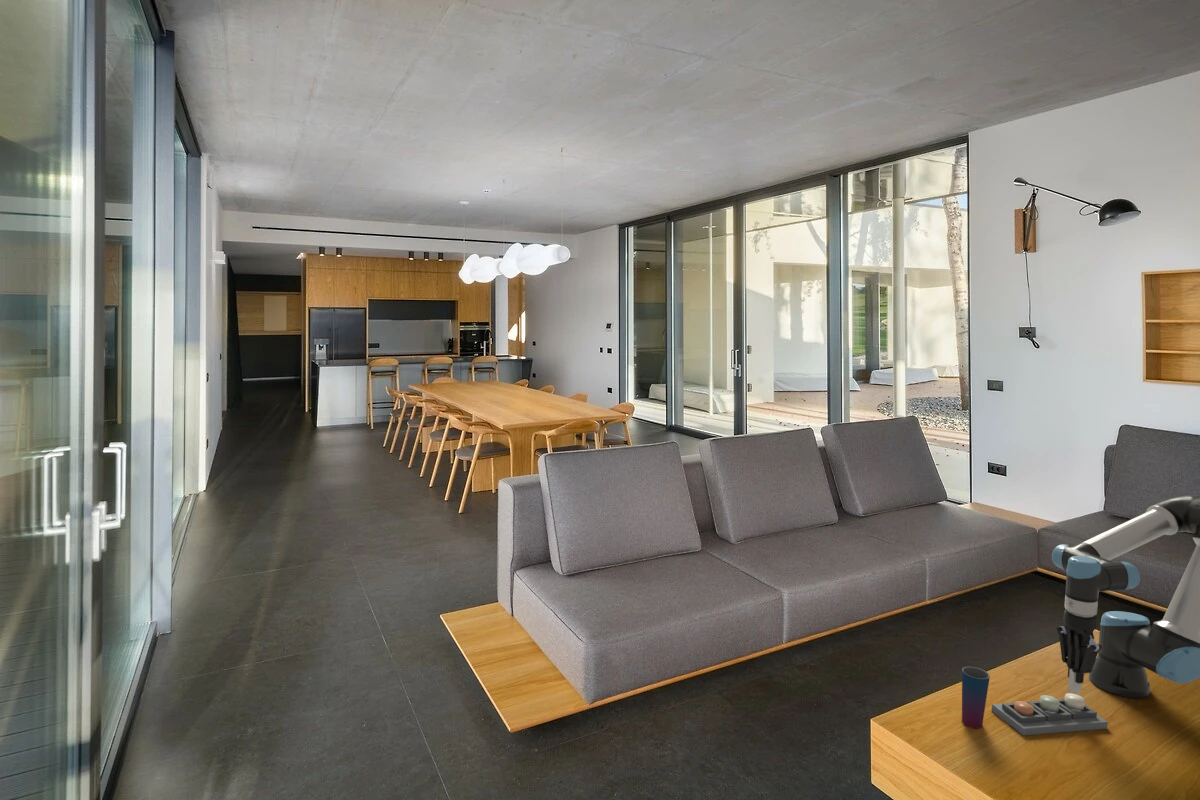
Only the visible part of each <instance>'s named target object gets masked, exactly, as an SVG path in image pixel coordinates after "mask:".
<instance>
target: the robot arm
mask: <svg viewBox="0 0 1200 800" xmlns="http://www.w3.org/2000/svg"><path fill="white" fill-rule="evenodd" d="M1183 532H1184V533H1185V532H1186V533H1191V534H1193V536H1192V540H1193V541H1194V543H1195V545H1196V546H1195V548H1194V551H1193V552H1192V555H1191V556H1190V559H1189V562H1188V564H1187V566H1186V568H1185V570H1184V572H1183V574H1182V577H1181V579H1180V581H1179V583H1178V585H1177V587H1176V589H1175V592H1174V593H1173V596H1172V598H1171V600H1170V603H1169V605H1168V607H1167V609H1166V612H1165V613H1164V616H1163V618H1162V619H1161V620H1157V621H1153V623H1152V625H1151V626H1150V624H1151V622H1150V619H1149V618H1148V617H1147V616H1144V615H1142V614H1137V613H1133V612H1130V611H1129V612H1127V611H1121V610H1119V611H1118V610H1114V611H1113V610H1112V611H1106V612H1104V613H1103V614H1102V616H1101V619H1100V623H1099V635H1098V636H1099V638H1098V644H1097V642H1096V641H1095V636H1094V631H1095V630H1096V628H1097V619H1098V617H1097V614H1098V605H1099V603H1098V602H1099V595H1100V594H1099V593H1100V592H1107V591H1108V592H1111V591H1126V590H1131V589H1132V590H1133V589H1135V588H1136V587H1137V586H1139V584H1140V581H1141V574H1140V572H1139V570H1138V568H1137V567H1136V566H1135V565H1134V564H1133V563H1130V562H1127V561H1117V562H1116V561H1111V560H1113V559H1115V558H1116V559H1117V558H1119V557H1120V556H1122V555H1125V554H1126V553H1128V552H1130V551H1132V550H1135V549H1137V548H1139V547H1141V546H1144V545H1145V544H1148V543H1150V542H1151V541H1153V540H1156V539H1158V538H1160V537H1162V536H1173V535H1176V534H1178V533H1183ZM1051 560H1052V562H1053V564H1054V565H1055V566H1056V567H1057V568H1059V569H1061V570H1063V571H1065V572H1066V576H1065V577H1066V579H1065V594H1064V595H1065V596H1064V608H1065V609H1063V622H1064V625H1063V626H1061V625H1060V626H1056V630H1057V633H1058V639H1059V646H1060V653H1061V661H1062V663H1065V664H1066V667H1067V678H1068V688H1067V691H1069V692H1070V693H1072V694H1078V693H1079V694H1080V693H1082V684H1083V683H1084V677H1085V674H1088V679H1089V681H1090V682H1091V684H1093V685H1095V686H1096V687H1097V688H1099V689H1101V690H1104V691H1105V692H1108V693H1111V694H1113V695H1117V696H1121V697H1125V698H1129V699H1130V698H1131V699H1143V698H1147V697H1149V696H1150V692H1151V684H1150V682H1149V681H1148V680H1149V679H1148V675H1147V672H1146V671H1147V670H1149V671H1151V672H1152V673H1155V674H1157V675H1158V676H1159V677H1160V678H1163V679H1167V680H1169V681H1171V682H1173V683H1175V684H1176V683H1177V684H1183V685H1184V684H1189V683H1191V682H1194V681H1196V680H1197V679H1199V678H1200V494H1189V495H1188V494H1187V495H1181V496H1176V497H1173V498H1168V499H1165V500H1162V501H1159V502H1158V503H1155V504H1153V505H1150V506H1149V507H1147V509H1146V510H1145V512H1144V513H1142V514H1140V515H1138V516H1136V517H1133V518H1132V519H1129V520H1127V521H1125V522H1123V523H1121V524H1119V525H1117V526H1114V527H1113V528H1110V529H1108V530H1106V531H1104V532H1102V533H1099V534H1097V535H1094V536H1093V537H1091V538H1089V539H1087V540H1085V541H1082V542H1080V543H1077V544H1076V545H1073V546H1072V545H1071V544H1066V543H1064V544H1063V543H1062V544H1059V545H1057V546H1055V548H1053V550H1052V553H1051ZM1146 669H1147V670H1146Z"/></svg>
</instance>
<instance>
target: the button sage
mask: <svg viewBox="0 0 1200 800" xmlns="http://www.w3.org/2000/svg"><path fill="white" fill-rule="evenodd" d="M1058 699H1059V698H1056V697H1054V696H1052V695H1046V694H1043V695H1040V696H1039V701H1040V707H1041V708H1043V709H1044V710H1047V711H1050V712H1058V711H1059V704H1060V701H1059V700H1058Z"/></svg>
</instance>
